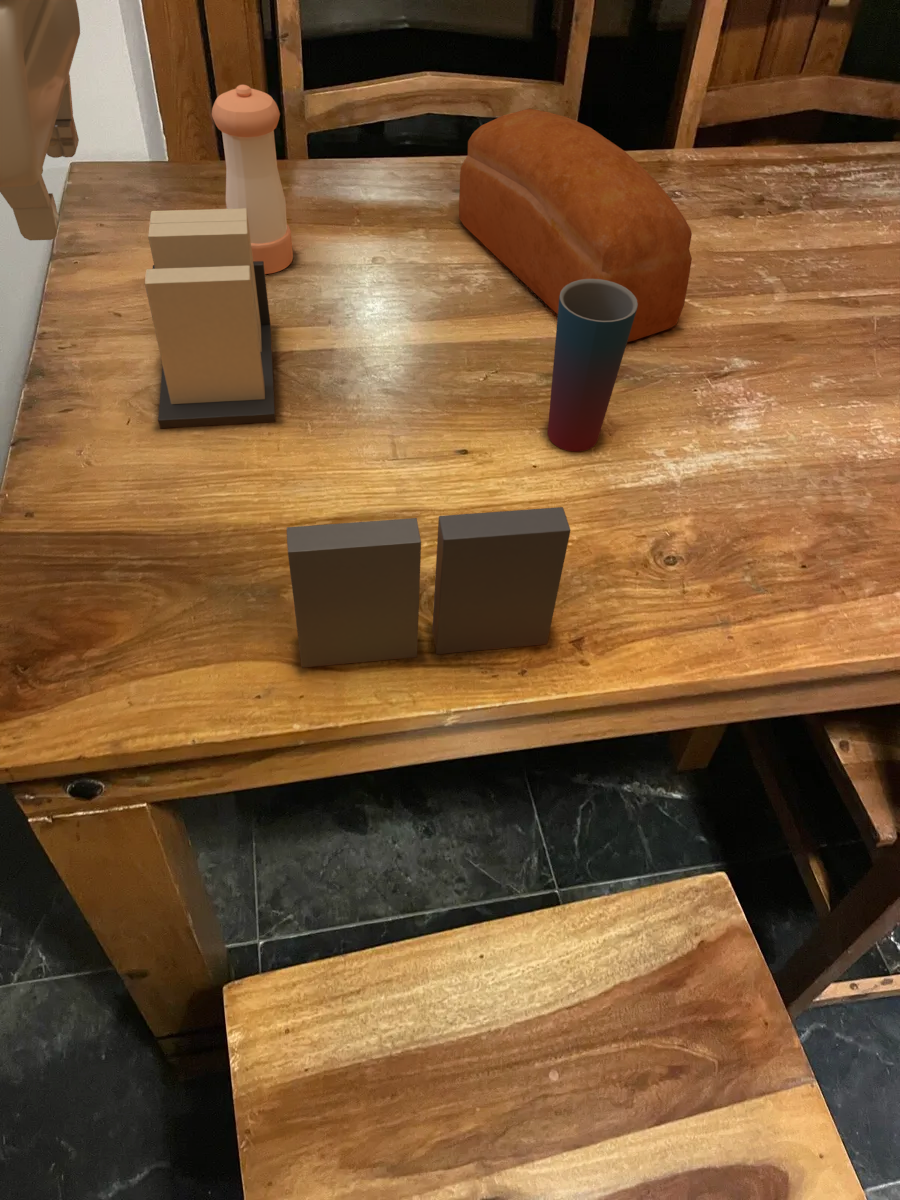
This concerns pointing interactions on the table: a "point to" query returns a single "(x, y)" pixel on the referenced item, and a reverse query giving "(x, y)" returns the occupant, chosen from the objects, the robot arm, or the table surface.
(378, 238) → the table surface
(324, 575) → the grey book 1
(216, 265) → the book rack
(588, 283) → the cup
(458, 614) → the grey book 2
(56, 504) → the table surface
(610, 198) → the bread
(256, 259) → the pepper shaker
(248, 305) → the brown flat block
